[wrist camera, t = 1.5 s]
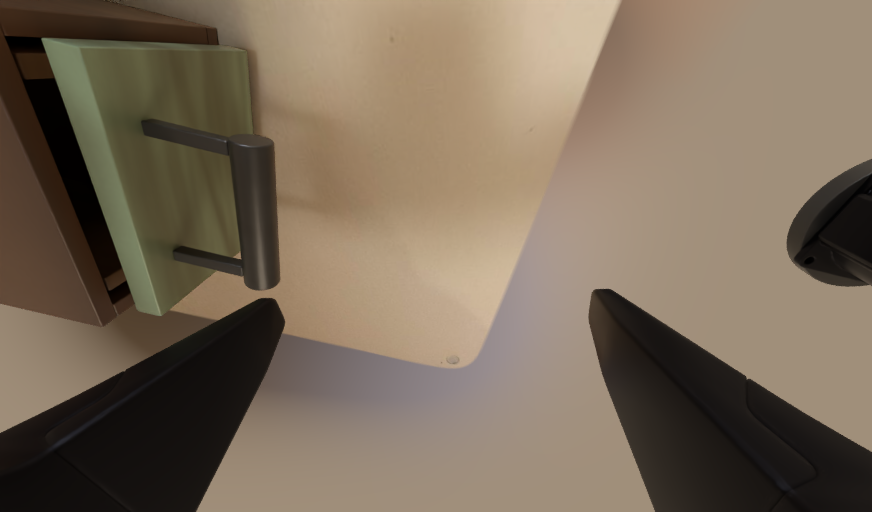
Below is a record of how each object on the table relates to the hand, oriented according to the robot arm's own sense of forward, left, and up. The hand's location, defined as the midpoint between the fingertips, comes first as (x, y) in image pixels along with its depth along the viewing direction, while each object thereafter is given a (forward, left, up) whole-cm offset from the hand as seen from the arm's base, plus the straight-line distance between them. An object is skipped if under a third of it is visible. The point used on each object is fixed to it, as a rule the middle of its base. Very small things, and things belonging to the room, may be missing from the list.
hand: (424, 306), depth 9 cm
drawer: (+16, +2, -12) cm, 21 cm away
